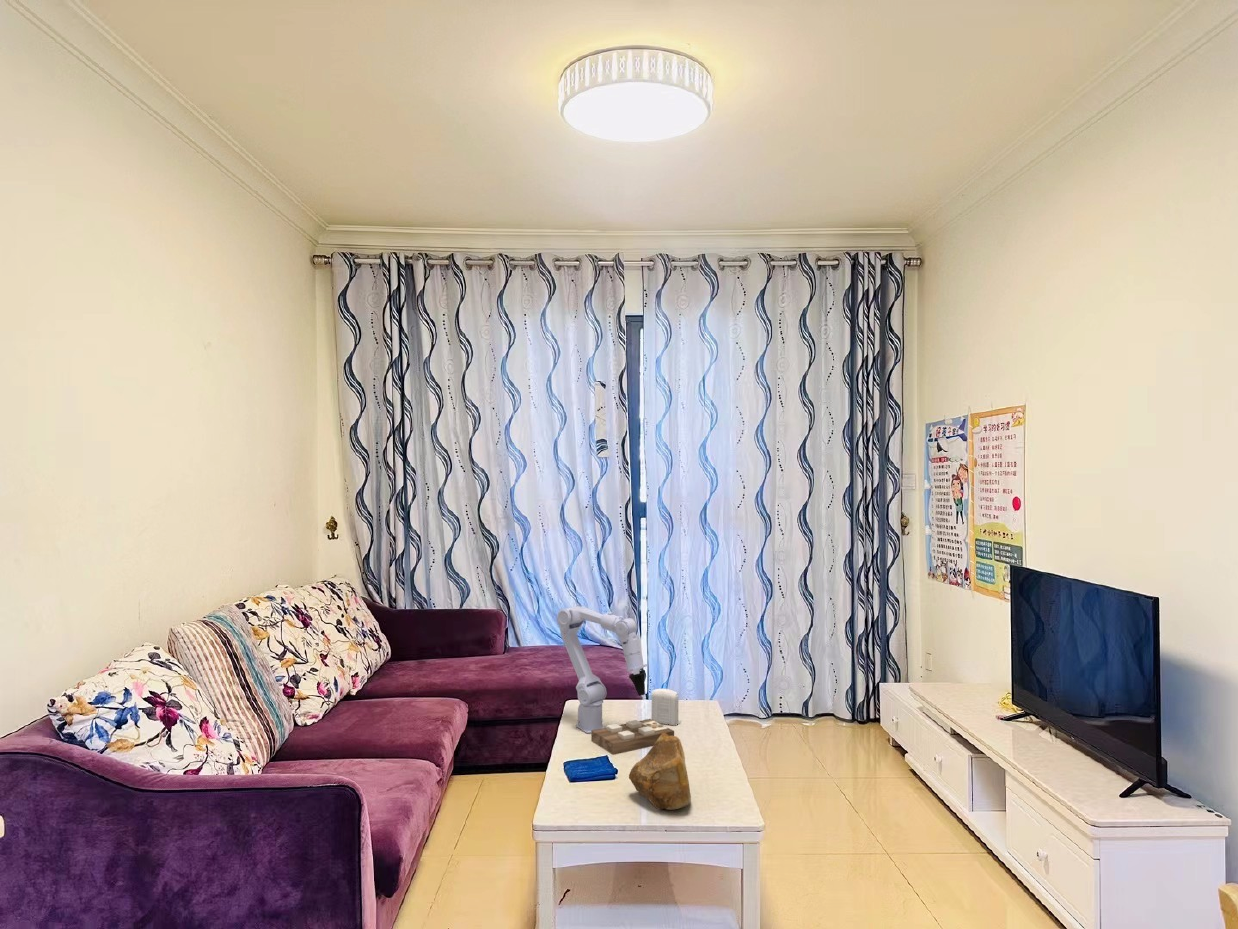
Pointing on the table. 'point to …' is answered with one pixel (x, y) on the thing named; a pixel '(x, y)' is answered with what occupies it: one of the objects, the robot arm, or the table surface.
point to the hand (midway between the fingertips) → (641, 694)
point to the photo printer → (665, 706)
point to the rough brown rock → (663, 774)
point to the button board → (639, 741)
